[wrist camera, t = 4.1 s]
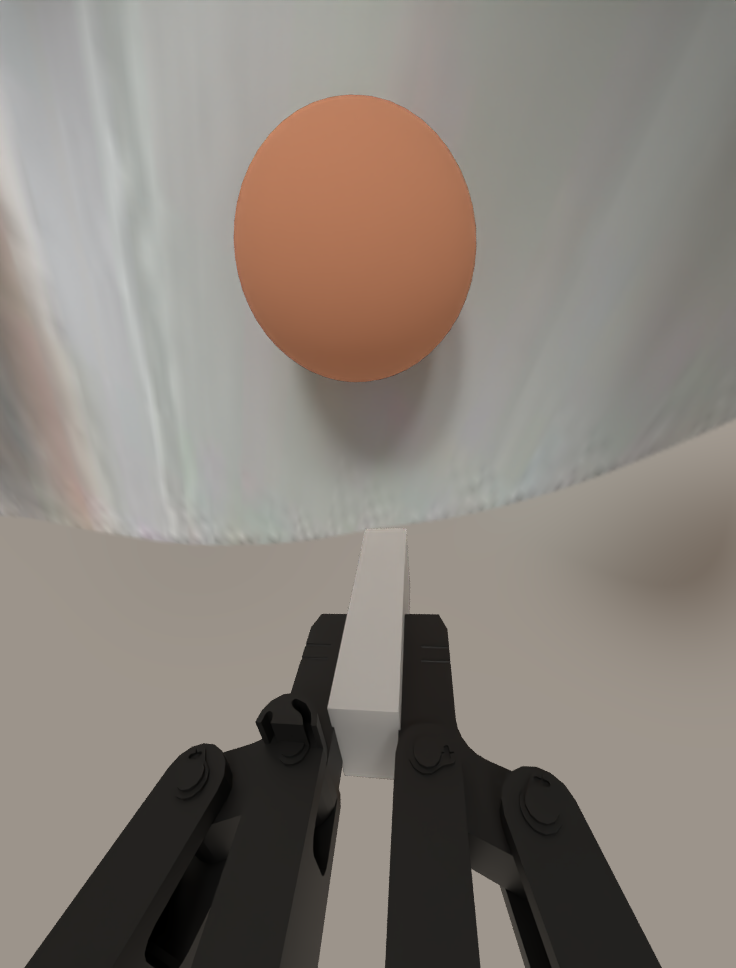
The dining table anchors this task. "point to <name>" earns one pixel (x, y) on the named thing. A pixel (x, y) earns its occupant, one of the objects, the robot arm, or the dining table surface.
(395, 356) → the ball
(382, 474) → the dining table surface
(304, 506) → the dining table surface
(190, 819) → the robot arm
